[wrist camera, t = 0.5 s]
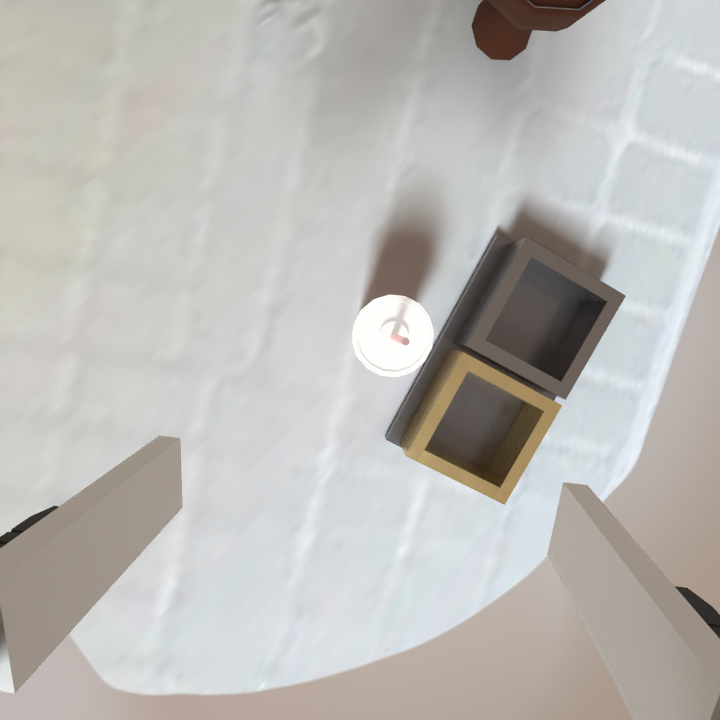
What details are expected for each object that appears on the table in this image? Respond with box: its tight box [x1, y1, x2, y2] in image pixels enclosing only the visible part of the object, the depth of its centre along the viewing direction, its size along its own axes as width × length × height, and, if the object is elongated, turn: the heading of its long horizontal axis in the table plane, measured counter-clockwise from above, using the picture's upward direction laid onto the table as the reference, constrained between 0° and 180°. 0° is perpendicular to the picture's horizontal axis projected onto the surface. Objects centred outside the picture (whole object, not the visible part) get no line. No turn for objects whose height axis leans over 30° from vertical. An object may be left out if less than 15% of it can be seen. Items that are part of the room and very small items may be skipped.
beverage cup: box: [352, 295, 434, 377], centre depth 31 cm, size 6×6×14 cm
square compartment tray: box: [385, 234, 625, 505], centre depth 37 cm, size 22×13×4 cm, turn 152°
